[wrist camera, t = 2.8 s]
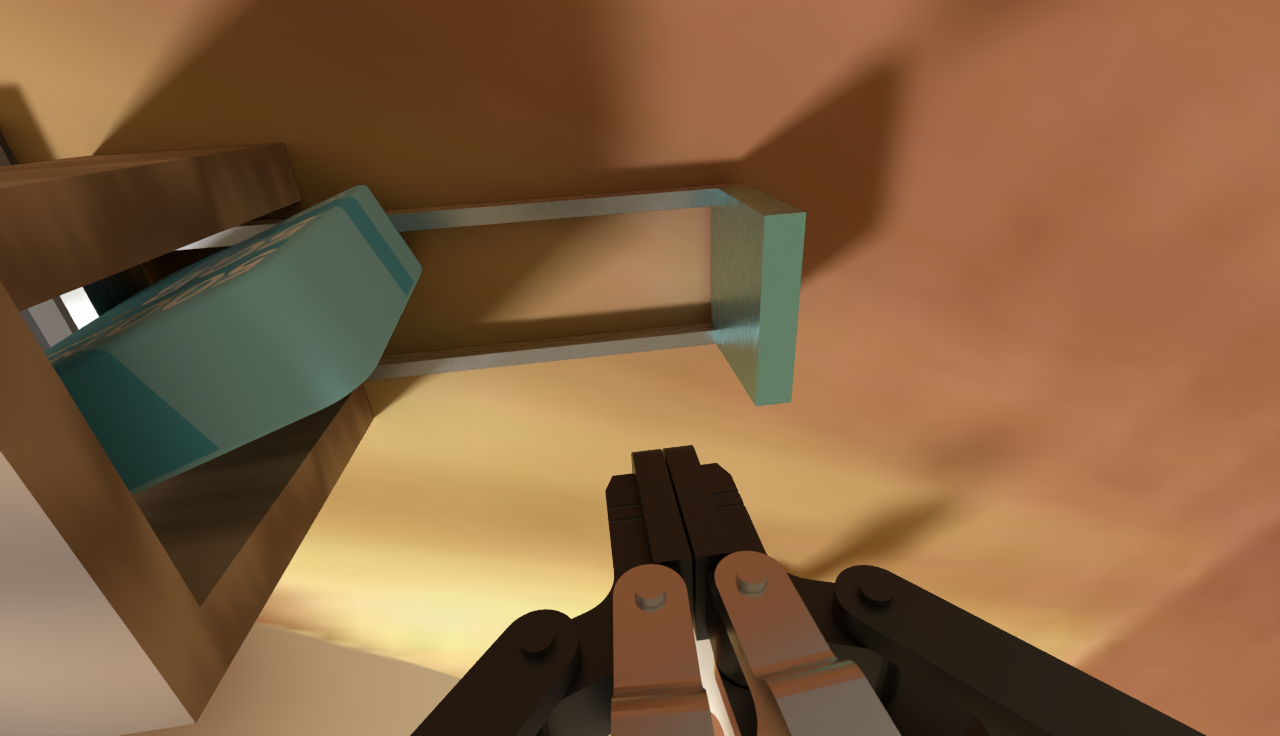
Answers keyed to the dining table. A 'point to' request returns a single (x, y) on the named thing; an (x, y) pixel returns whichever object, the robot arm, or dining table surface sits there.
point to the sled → (740, 326)
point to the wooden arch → (90, 485)
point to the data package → (241, 339)
